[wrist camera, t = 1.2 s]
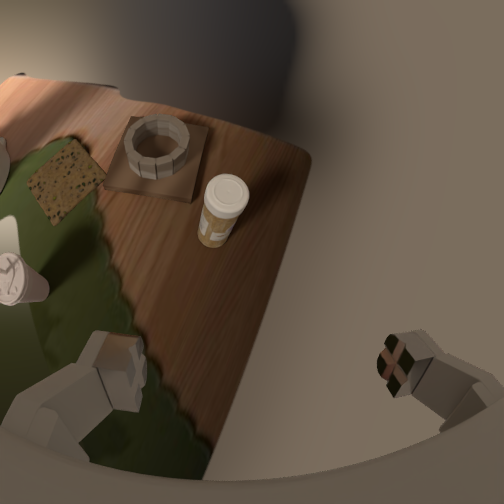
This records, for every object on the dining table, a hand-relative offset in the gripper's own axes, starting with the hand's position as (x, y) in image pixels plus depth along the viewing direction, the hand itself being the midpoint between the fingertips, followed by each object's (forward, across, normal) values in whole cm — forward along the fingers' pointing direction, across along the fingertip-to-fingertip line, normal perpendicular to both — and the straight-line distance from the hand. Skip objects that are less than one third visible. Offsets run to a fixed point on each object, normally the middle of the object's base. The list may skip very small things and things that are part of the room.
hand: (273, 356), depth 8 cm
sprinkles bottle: (+33, +2, +7) cm, 33 cm away
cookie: (+35, +28, -1) cm, 45 cm away
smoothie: (+24, +28, +13) cm, 40 cm away
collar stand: (+39, +12, -4) cm, 41 cm away
